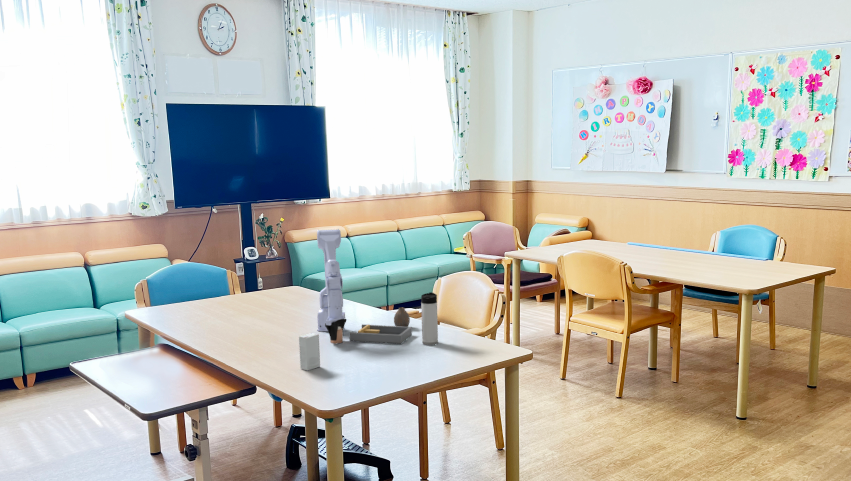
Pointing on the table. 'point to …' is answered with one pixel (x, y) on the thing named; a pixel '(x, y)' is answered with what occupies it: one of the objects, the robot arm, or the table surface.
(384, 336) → the lane
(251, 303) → the table surface
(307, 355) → the skincare box
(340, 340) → the jar
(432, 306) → the travel mug
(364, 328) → the pusher
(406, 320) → the brown rounded piece
